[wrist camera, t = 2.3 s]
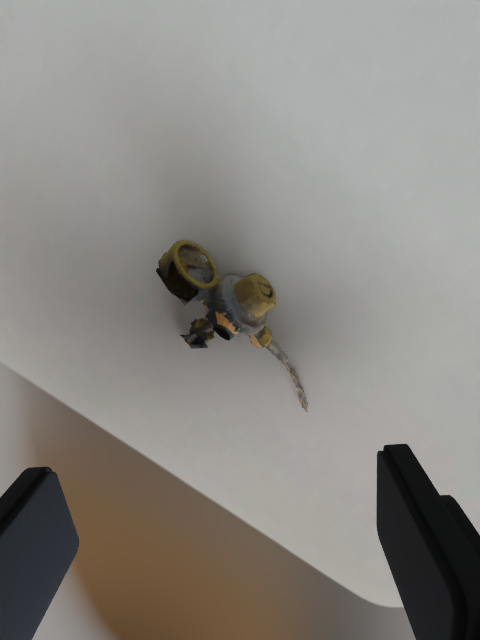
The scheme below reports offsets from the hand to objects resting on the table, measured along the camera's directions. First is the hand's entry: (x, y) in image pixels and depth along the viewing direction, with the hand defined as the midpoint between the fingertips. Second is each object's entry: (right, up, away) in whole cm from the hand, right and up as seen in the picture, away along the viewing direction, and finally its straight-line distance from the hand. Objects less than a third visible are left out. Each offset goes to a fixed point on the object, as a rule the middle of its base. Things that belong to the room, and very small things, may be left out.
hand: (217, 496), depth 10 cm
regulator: (+1, +5, +14) cm, 15 cm away
